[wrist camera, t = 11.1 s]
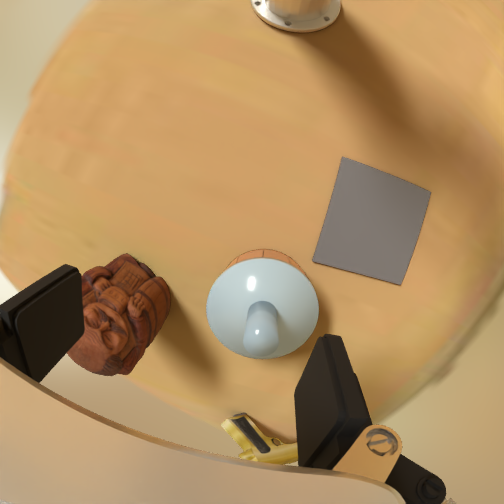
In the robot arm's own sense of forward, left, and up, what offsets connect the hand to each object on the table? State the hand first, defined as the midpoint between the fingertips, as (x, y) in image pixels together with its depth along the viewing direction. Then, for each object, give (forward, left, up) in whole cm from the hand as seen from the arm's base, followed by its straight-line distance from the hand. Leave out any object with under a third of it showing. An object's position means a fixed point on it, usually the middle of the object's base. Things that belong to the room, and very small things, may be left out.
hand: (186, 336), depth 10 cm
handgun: (+36, +15, -27) cm, 48 cm away
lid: (+9, +5, -22) cm, 24 cm away
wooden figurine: (+13, -12, -27) cm, 33 cm away
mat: (-4, +17, -27) cm, 32 cm away
